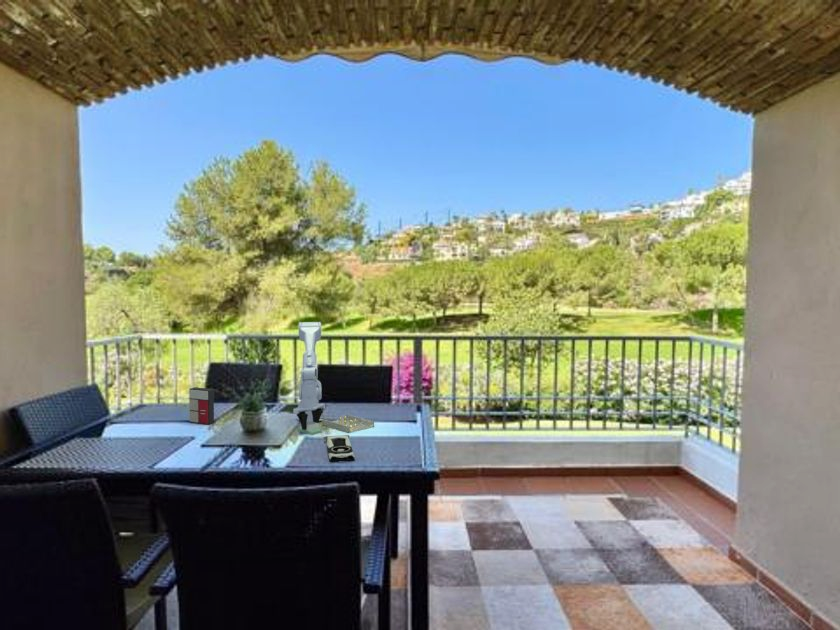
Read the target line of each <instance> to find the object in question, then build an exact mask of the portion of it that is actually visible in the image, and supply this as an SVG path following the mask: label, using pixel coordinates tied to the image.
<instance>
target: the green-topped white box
mask: <svg viewBox="0 0 840 630" xmlns="http://www.w3.org/2000/svg"><path fill="white" fill-rule="evenodd" d="M299 424H300V427H297V431H298V432H301V433H304V434H306V435H310V436H314V435H318V434H322V433H323V430H322V429H320V423H316V422H313V421H307V428H306V430H303V429H302V427H301V423H300V422H299Z"/></svg>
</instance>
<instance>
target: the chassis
mask: <svg viewBox="0 0 840 630" xmlns="http://www.w3.org/2000/svg"><path fill="white" fill-rule="evenodd" d="M322 419H323V420H322V421H321V422H322V423H321V425H322V426H325V427H327V428H331V429H334V430H337V431H340V432H343V433H347V434H349V433H354V432H355V433H356V432H358V431H362V430H367V429H371V427H372V428H374V427H375V421H373V420H371V419H367V418H363V417H359V416H356V415H352V414H348V413H346V415H345V416H343V417H342V416H340V417H339V419H337V420H328V419H324V418H322Z"/></svg>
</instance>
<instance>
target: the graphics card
mask: <svg viewBox="0 0 840 630" xmlns="http://www.w3.org/2000/svg"><path fill="white" fill-rule="evenodd" d="M323 440H324V441H323V444H326V451H327V456H328V461H329V462H331V463H340V462H339V461H348V462H355V461H356V457H355V453H354V450H353V447H352V444H351V441H350V434H349V435H348V434H344V435H343V434H342V435H340V434H339V435H327V436H323Z"/></svg>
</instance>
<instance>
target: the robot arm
mask: <svg viewBox="0 0 840 630" xmlns="http://www.w3.org/2000/svg"><path fill="white" fill-rule="evenodd" d="M298 336H299V337H298V338H299V340H300V341H301V342H303V343H304V346H305V348H304V349H305V352H304V353H303V354H302V368H301V369H300V371H301V373H300V377H301V381H300V383H299V388H298V397H299V398H298V399H299V400H300V401H299V402H298V405H297V407H295V408H293V409H292V410H293V414H294V415H296V416H297V418H296V419H298V420H297V421H299V420H300V421H299V424H300V423H301V427H302V429H303V430H306V428H307V421H313V422H316V423H319V422H320V421H321V422H322V420H323V419H324V418H321V416H322V415H323V413H324V410H325V409H326V403H324V402H322V403H319V402H320V401H321V400H322V394H323V393H322V383H321V381H320V380H319V379H318V375H319V374H318V365H317V364H318V363H317V361H318V360H317V354H316V344H317V342H319V341H321V339H322V323H321V321H310V322H308V321H305V322H303V321H299V322H298ZM319 424H320V423H319Z"/></svg>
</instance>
